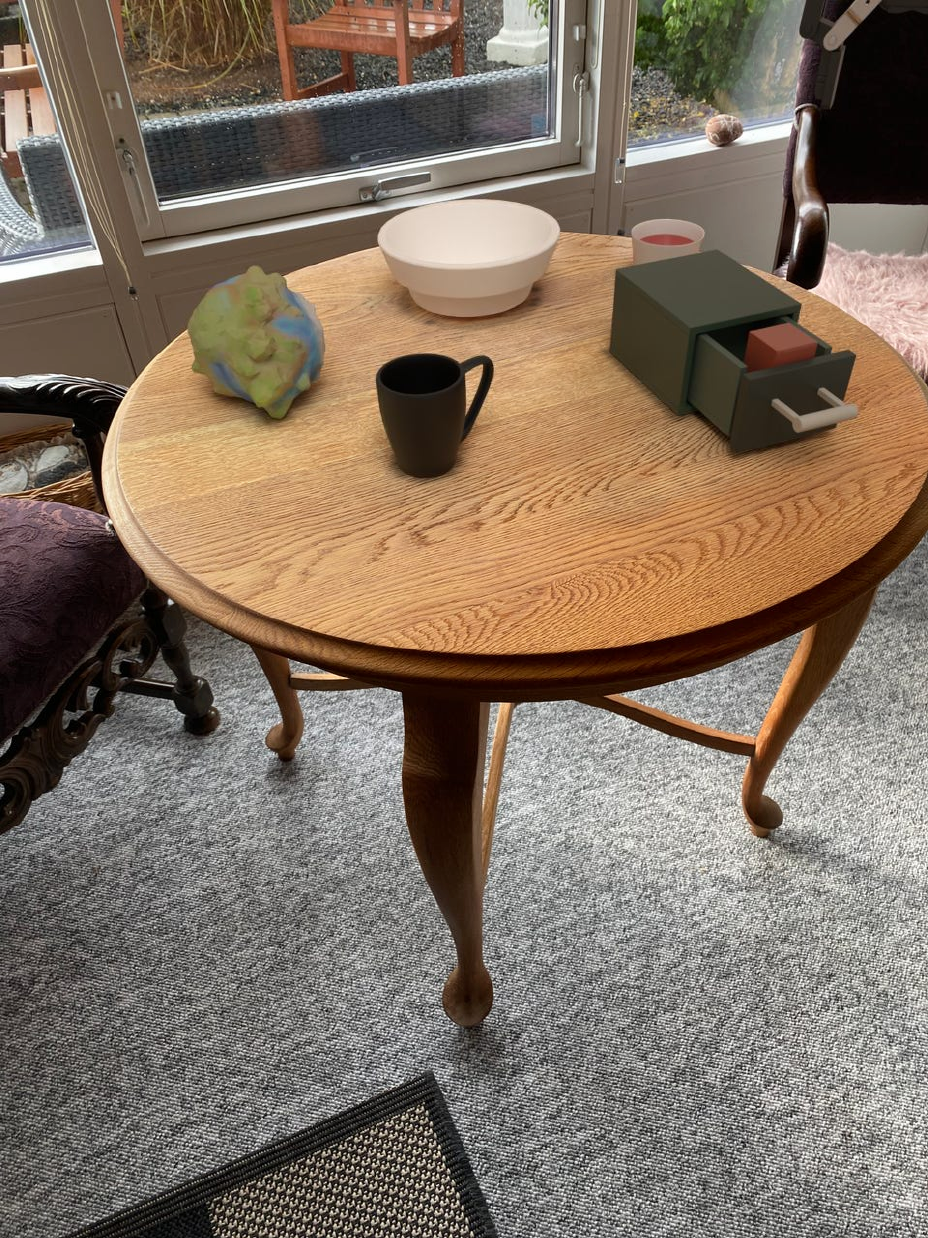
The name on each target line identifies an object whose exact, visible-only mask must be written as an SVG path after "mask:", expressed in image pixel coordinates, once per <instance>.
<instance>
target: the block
mask: <svg viewBox="0 0 928 1238" xmlns="http://www.w3.org/2000/svg"><path fill="white" fill-rule="evenodd" d="M817 343H818V342H817V341H816V340H814V339H813V338H811V337H810V336H808V335H807V334H805V333H804V332H802V331H801V330H799V329H798V328H797V327H795V326H794V325H792V324H791V323H785V324H781V325H776V326H772V327H768V328H763V329H759V330H754V331H750V333H749V338H748V343H747V348H746V354H745V359H744V364H745V365H747V366H748V369H747V373H750V372H754V371H759V370H763V369H767V368H772V367H776V366H780V365H784V364H789V363H793V362H797V361H802V360H806V359H810V358H814V355H815V351H816V347H817Z"/></svg>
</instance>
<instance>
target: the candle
mask: <svg viewBox="0 0 928 1238" xmlns="http://www.w3.org/2000/svg"><path fill="white" fill-rule="evenodd" d="M630 232H631V233H630V234H631V243H632V245H631V246H632V259H633V266H634V265H639V264H644V263H649V262H655V261H660V260H665V259H670V258H675V257H680V256H685V255H691V254H696V253H700V250H701V247H702V245H703V241H704V239H705V235H706V233H705V230H704V229H703V228H702V227H701V226H700V225H699V224H696V223H694V222H691V221H688V220H684V219H683V220H682V219H675V218H658V219H651V220H646V221H642V222H640V223H638V224H636V225H635V226H633V227H632V229H631V231H630Z"/></svg>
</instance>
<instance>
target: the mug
mask: <svg viewBox="0 0 928 1238" xmlns="http://www.w3.org/2000/svg"><path fill="white" fill-rule="evenodd" d="M479 366H482V372H481V376H480V381H479V383H478V385H477V388H476V391H475V394H474V396H473V399H472V400H471V403H470V406H469V407H468V409H467V387H466V386H467V385H466V374H467V373H469V372H470V371H471V370H473V369H475V368H477V367H479ZM494 373H495V368H494V363H493V359H491V358H490V357H489V356H488V355H485V354H480V355H475V356H472V357H469V358H468V359H465V360H463V361H461V362H459V361H458V360H456V359H455V358H452V357H450V356H447V355H445V354H440V353H439V354H438V353H431V352H430V353H428V352H423V353H421V352H419V353H412V354H411V353H410V354H406V355H402V356H398V357H396V358H393V359H391V360H389V361H387V362H386V363H384V364H383V365H381V367H380V368H379V369H378V370H377V372H376V374H375V387H376V395H377V403H378V410H379V415H380V418H381V423H382V425H383V428H384V432H385V434H386V437H387V440H388V442H389V445H390V447H391V449H392V452H393V455H394V456H395V457H396V460H397V462H398V465H399V468H400V469H401V470H402V472H404V473H405V474H407V475H409V476H411V477H416V478H423V479H425V478H427V479H428V478H434V477H439V476H442V475H444V474H446V473H448V472H450V471H451V470H452V469H453V468H454V466H455V464H456V461H457V456H458V452H459V448H460V446H461V444H462V443H464V442H465V441H466V439H467V438H468V436H469V434H470V433H471V431H472V429H473V428H474V427H473V426H474V425H475V423H476V420H477V418H478V416H479V414H480V412H481V410H482V407H483V405H484V403H485V400H486V398H487V396H488V393H489V391H490V390H491V386H492V383H493V379H494Z"/></svg>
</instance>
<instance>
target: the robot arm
mask: <svg viewBox="0 0 928 1238" xmlns="http://www.w3.org/2000/svg"><path fill="white" fill-rule="evenodd" d="M827 4H828V0H805V3H804V6H803V11H802V16H801V19H800V24H799V29H798V33H799V36H800V37H801V38H802V39H805V40H808V39H809V40H810V41H812V42H814V43H816V44H817V45H818V46H819V47H820V50H821V55H820V59H819V64H818V69H817V70H818V71H817V74H816V79H815V85H814V89H813V95H814V99H815V100H820V101H821V102H820V107H819V108H820V109H821V110H831V108H832V107H833V105H834V101H835V98H836V92H837V89H838V83H839V80H840V73H841V69H842V65H843V61H844V55H845V51H846V45H844V41H845V40H846V39H847V38H848V37H849V36H850V35H851V34H853V32H854V31H855V29H857V28H858V26H859V25H860V24H862V22H863V21H864V20H865V19H866V18H867V17H868V16H869V15H870V14H871V13H872V12H873V10H874V9H875V8H876V7H877V6H879V7H880V8H881V9H883V10H885V11H886V12H887V14H902V13H907V12H910V11H915V12H917V13H920V14H923V15H928V0H854V1H853V2H852V3H851V5H850V6H849V7H848V8H847V9H845V10H846V11H844V13H843V14H842V15H841V16H840V17H839V18H838V19H837V20H836V21H835V22H834V21H831V20H829V19H827V18H826V17H824V16H825V13H826V7H827Z"/></svg>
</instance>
